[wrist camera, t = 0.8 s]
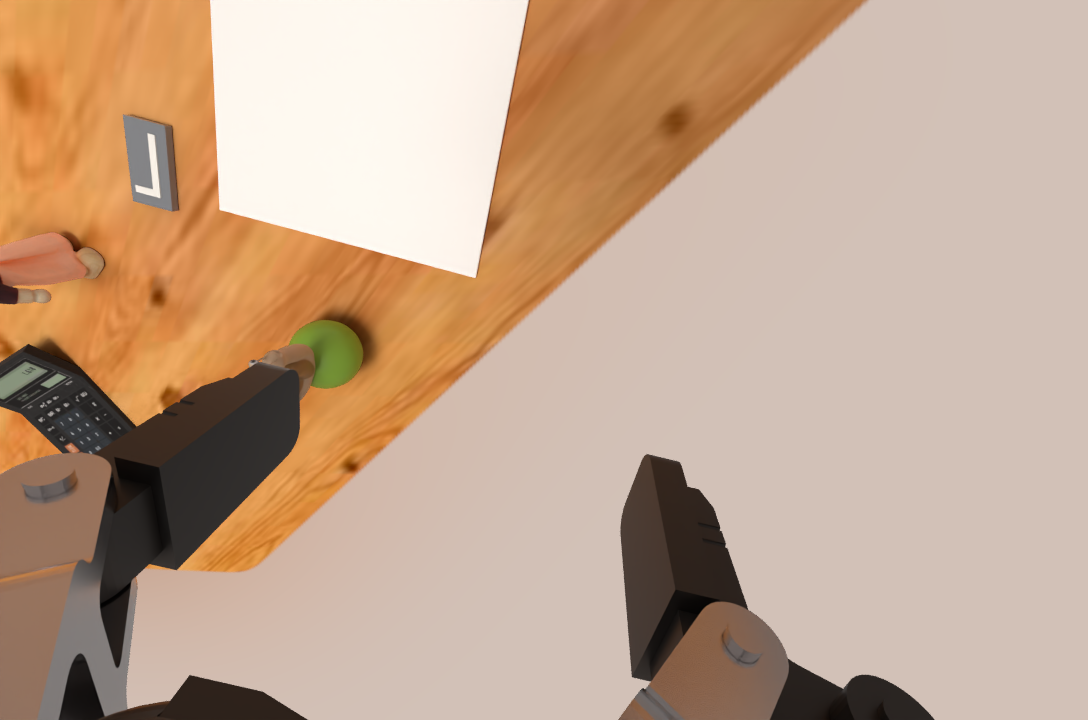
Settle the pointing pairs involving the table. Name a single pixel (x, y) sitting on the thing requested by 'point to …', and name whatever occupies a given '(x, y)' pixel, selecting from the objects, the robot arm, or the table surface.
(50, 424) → the calculator
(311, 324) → the snail figurine
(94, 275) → the grandmother figurine
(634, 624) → the robot arm
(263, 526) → the table surface
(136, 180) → the letter card
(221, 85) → the paper
